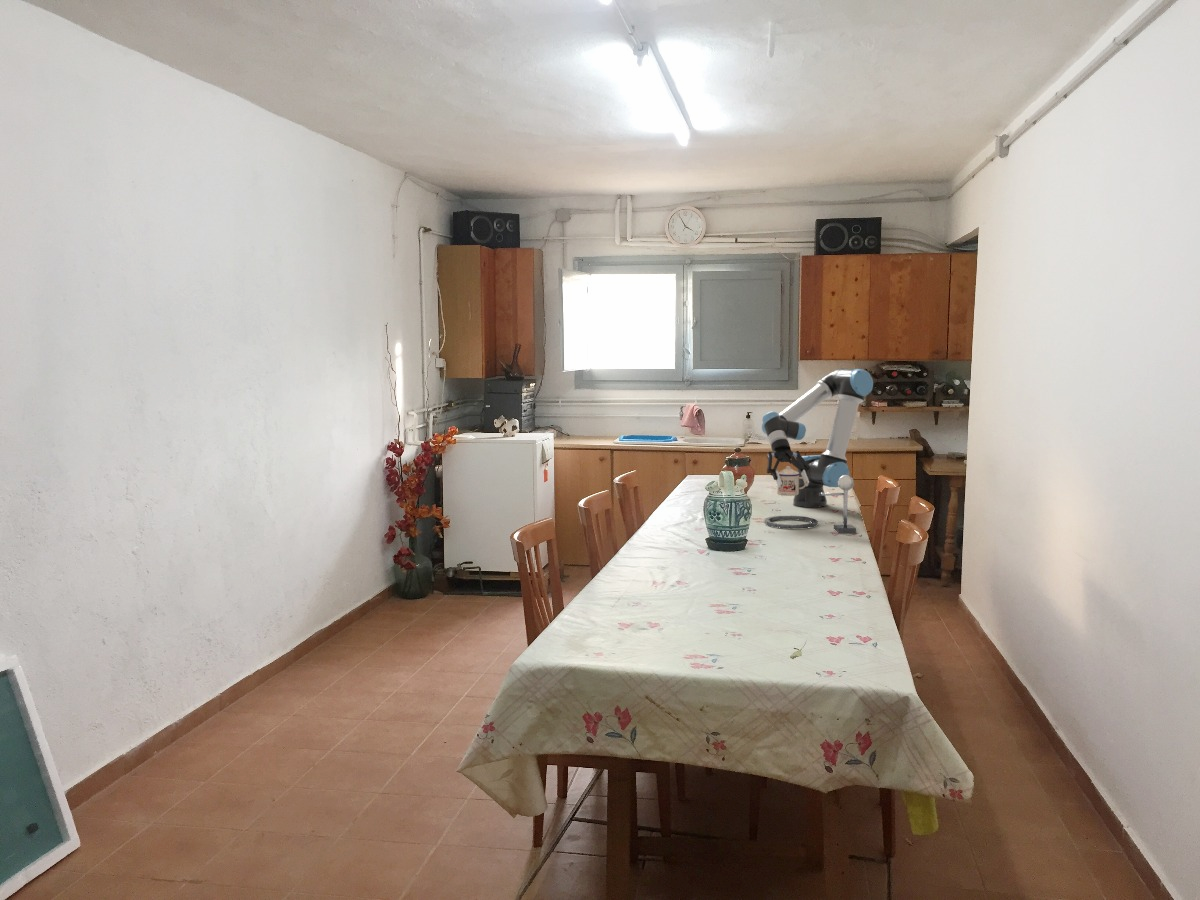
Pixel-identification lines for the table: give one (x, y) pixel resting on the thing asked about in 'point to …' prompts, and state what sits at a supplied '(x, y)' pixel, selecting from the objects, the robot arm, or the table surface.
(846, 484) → the dial gauge stand
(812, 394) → the robot arm
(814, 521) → the centring ring
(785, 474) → the teacup with lid
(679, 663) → the table surface
